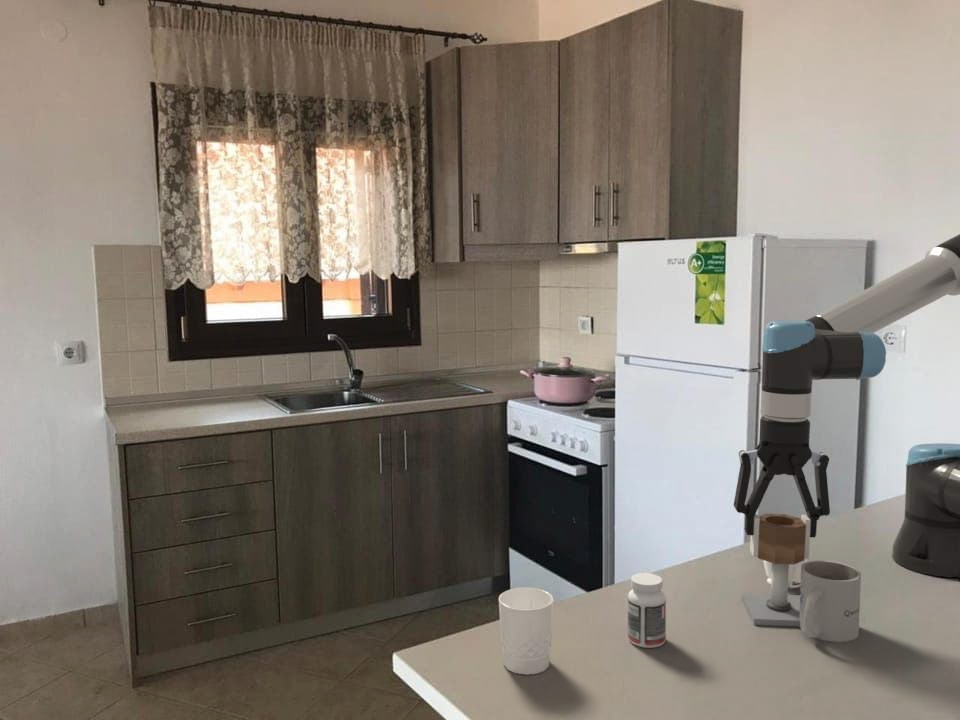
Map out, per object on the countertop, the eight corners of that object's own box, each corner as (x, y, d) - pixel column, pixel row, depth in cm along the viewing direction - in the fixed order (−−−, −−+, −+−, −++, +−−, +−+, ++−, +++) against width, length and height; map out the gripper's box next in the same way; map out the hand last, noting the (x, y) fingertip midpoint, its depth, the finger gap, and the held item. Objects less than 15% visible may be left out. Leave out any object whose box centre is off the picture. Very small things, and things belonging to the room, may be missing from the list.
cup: (777, 572, 150) (778, 530, 149) (823, 591, 141) (825, 546, 140) (750, 580, 147) (752, 537, 146) (796, 599, 138) (798, 554, 137)
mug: (820, 614, 133) (822, 556, 132) (869, 634, 126) (872, 573, 125) (773, 634, 126) (774, 573, 125) (822, 656, 119) (825, 591, 118)
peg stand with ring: (801, 601, 137) (803, 544, 136) (819, 627, 127) (821, 566, 126) (741, 598, 139) (742, 542, 137) (753, 624, 129) (755, 564, 127)
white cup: (537, 683, 112) (537, 614, 111) (489, 668, 116) (488, 602, 115) (562, 659, 119) (562, 594, 117) (516, 646, 123) (515, 583, 121)
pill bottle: (667, 635, 126) (668, 574, 124) (663, 651, 120) (664, 588, 119) (630, 629, 128) (631, 569, 126) (624, 646, 122) (625, 583, 121)
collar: (795, 549, 135) (797, 514, 134) (807, 565, 128) (809, 528, 127) (751, 547, 136) (752, 513, 135) (761, 563, 129) (762, 526, 128)
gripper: (843, 414, 131) (835, 549, 134) (716, 411, 134) (712, 544, 137) (858, 423, 124) (850, 565, 127) (724, 420, 126) (719, 560, 129)
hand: (778, 554), depth 132 cm, fingers closed on collar, 7 cm apart
